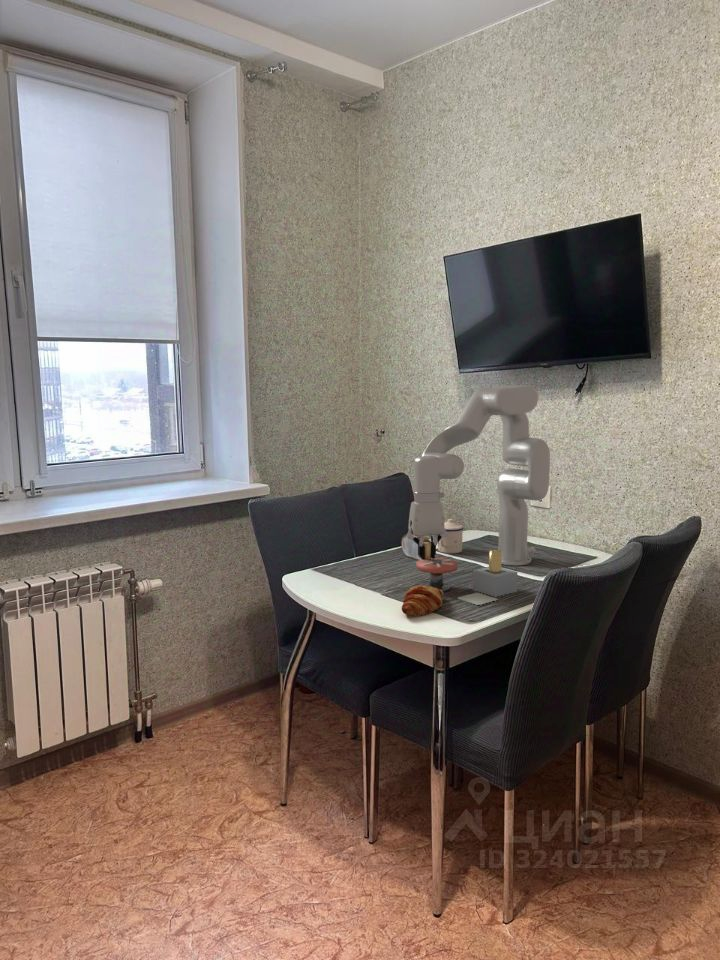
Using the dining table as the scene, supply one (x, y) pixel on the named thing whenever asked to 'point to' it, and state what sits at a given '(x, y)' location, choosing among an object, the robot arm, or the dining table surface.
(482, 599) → the sage mat
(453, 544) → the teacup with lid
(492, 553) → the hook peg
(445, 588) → the wheel post
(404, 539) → the tin
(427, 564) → the handwheel
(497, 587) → the eye block
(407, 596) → the croissant
